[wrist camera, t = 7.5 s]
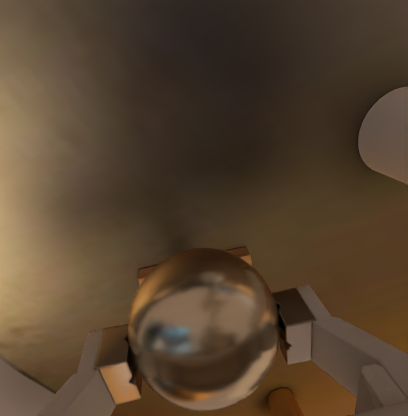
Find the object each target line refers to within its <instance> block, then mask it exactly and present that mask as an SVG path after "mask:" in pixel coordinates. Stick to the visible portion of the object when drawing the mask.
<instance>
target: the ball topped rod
mask: <svg viewBox="0 0 408 416" xmlns="http://www.w3.org/2000/svg"><path fill="white" fill-rule="evenodd" d="M279 339H280V323H279V315H278V310H277V306H276V303H275V300H274V297H273V295H272V293H271V291H270V289H269V287H268V285H267V283H266V282H265V280H264V279H263V278H262V276H261V275H260V274H259V273H258V272H257V271H256V270H255V269H254V268H253V267H252V266H251V265H250V264H249V263H247V262H246V261H244V260H243V259H241V258H240V257H238V256H236V255H234V254H232V253H229V252H226V251H223V250H219V249H213V248H194V249H189V250H185V251H181V252H179V253H176V254H174V255H172V256H170V257H168V258H166V259H165V260H163V261H162V262H161V263H159V264H158V265H157V266H156V267H155V268H154V269H152V270H151V271H150V273H149V274H148V275H147V276H146V277H145V279H144V280H143V282H142V283H141V285H140V286H139V288H138V290H137V292H136V294H135V296H134V299H133V302H132V305H131V308H130V313H129V320H128V340H129V346H130V351H131V354H132V358H133V361H134V363H135V365H136V367H137V370H138V372H139V373H140V375H141V376H142V378H143V379H144V381H145V382H146V383H147V384H148V386H149V387H150V388H151V389H152V390H153V391H154V392H155V393H157V394H158V395H159V396H160V397H161V398H163V399H164V400H166V401H167V402H169V403H171V404H173V405H175V406H178V407H180V408H183V409H187V410H192V411H203V412H209V411H217V410H221V409H225V408H228V407H231V406H233V405H235V404H237V403H239V402H240V401H242V400H244V399H245V398H247V397H248V396H249V395H250V394H251V393H253V392H254V391H255V390H256V389H257V388H258V387H259V385H260V384H261V383H262V382H263V381H264V379H265V377H266V376H267V374H268V373H269V371H270V369H271V367H272V365H273V362H274V360H275V357H276V354H277V350H278V345H279Z"/></svg>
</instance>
